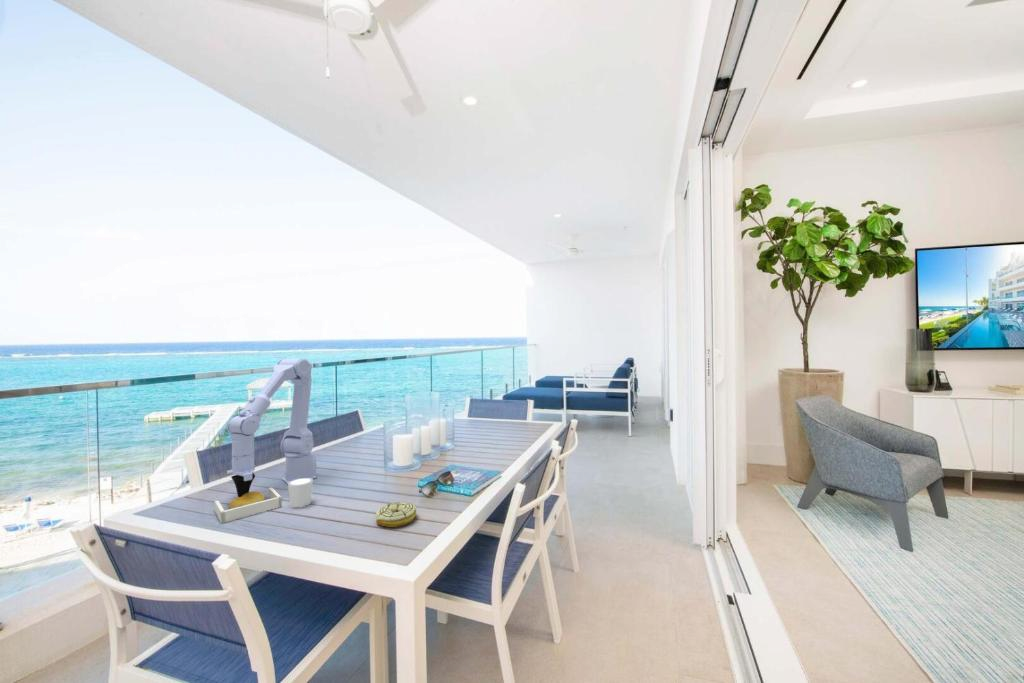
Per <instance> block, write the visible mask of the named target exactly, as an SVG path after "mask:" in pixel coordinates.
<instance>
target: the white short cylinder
mask: <svg viewBox="0 0 1024 683" xmlns="http://www.w3.org/2000/svg"><path fill="white" fill-rule="evenodd" d="M313 484H314V479H312V478H299V479H295V480H292V481H290V482H289V483H288V484H287V488H288V490H287V492H288V498H289V499H288V500H289V507H290V506H291V507H300V508H303V507H302V506H304V507H306V506H305V505H307V504H309V503H310V502H312V492H313ZM310 504H311V503H310ZM310 504H309V505H310ZM307 506H308V505H307ZM291 507H290V508H291Z"/></svg>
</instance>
